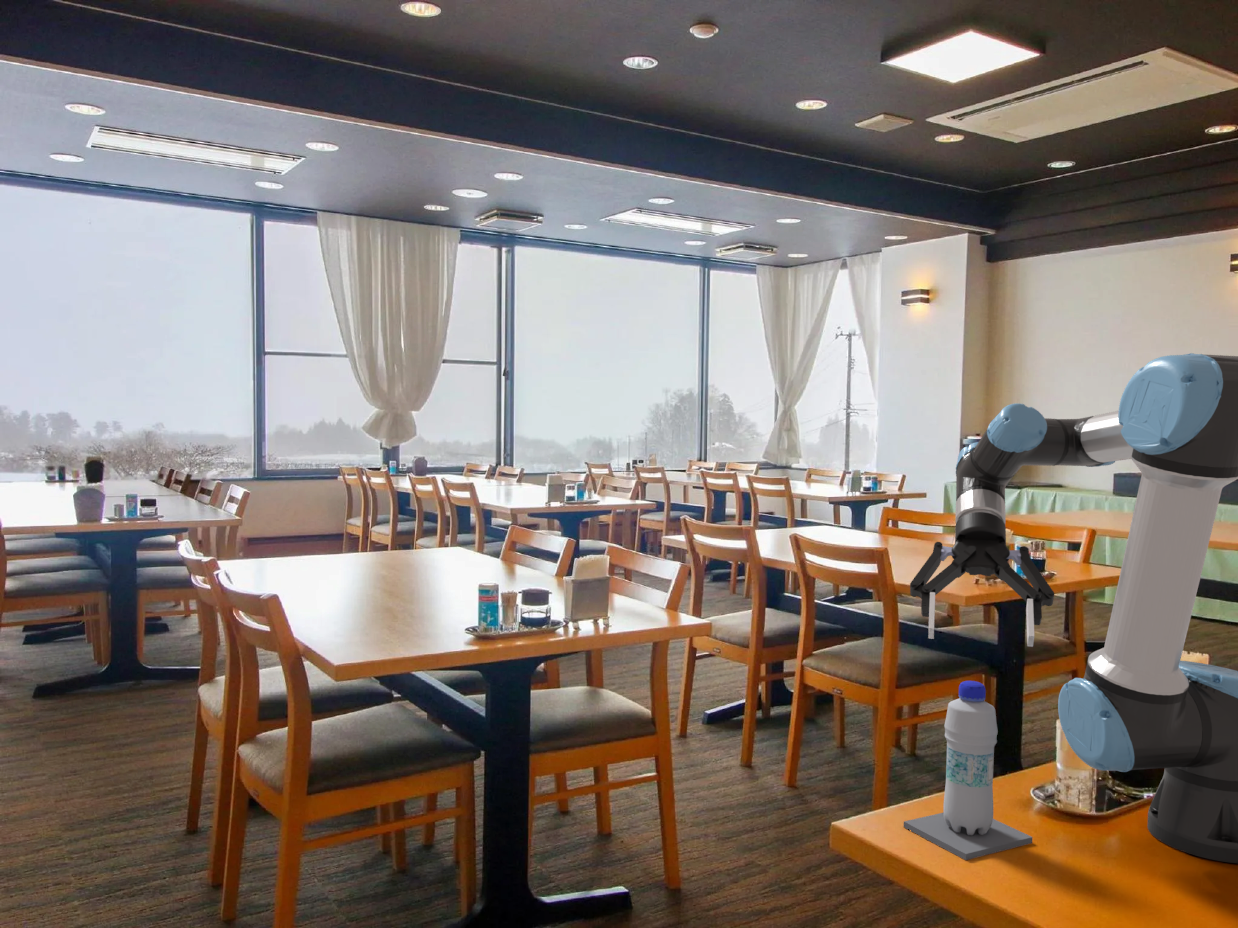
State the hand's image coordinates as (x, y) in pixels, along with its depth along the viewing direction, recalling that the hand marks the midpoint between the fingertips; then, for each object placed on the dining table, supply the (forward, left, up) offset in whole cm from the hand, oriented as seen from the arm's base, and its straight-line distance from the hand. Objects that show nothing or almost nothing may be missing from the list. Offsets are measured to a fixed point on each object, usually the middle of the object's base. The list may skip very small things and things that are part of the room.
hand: (980, 637), depth 141 cm
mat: (-8, +10, -24) cm, 27 cm away
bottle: (-8, +10, -23) cm, 27 cm away
